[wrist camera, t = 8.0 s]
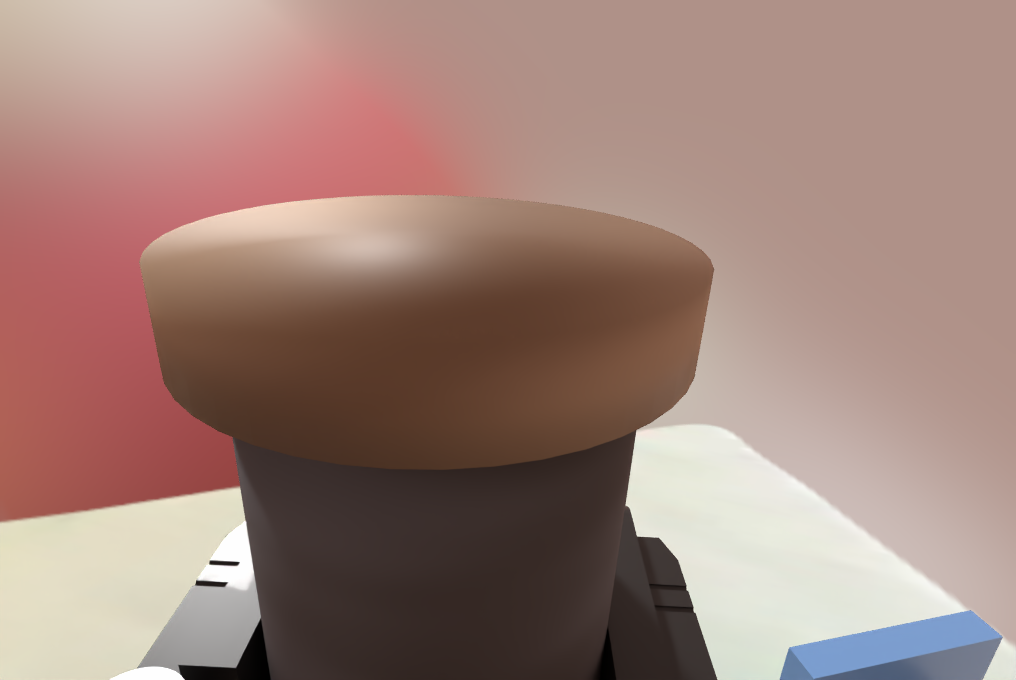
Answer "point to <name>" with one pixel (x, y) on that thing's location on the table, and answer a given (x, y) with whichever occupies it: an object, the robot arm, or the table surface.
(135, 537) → the table surface
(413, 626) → the cord spool
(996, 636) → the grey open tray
